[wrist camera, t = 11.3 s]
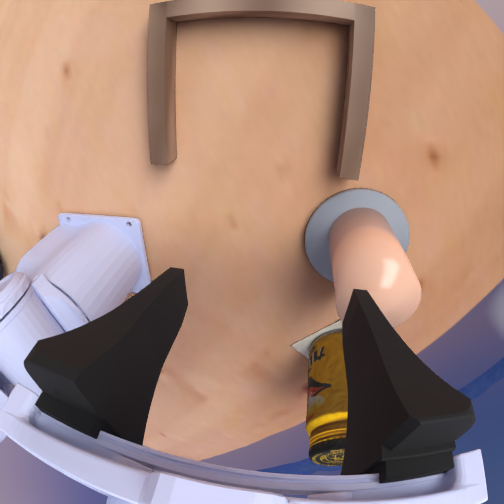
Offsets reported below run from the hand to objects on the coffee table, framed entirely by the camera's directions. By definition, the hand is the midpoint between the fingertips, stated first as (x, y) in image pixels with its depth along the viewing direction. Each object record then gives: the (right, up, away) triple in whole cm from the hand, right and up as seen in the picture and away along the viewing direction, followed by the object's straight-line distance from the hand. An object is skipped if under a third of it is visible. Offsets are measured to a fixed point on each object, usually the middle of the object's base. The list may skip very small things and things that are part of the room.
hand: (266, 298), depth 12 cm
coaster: (+7, +3, +9) cm, 12 cm away
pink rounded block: (+7, +2, +9) cm, 11 cm away
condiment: (+9, -7, +15) cm, 19 cm away
